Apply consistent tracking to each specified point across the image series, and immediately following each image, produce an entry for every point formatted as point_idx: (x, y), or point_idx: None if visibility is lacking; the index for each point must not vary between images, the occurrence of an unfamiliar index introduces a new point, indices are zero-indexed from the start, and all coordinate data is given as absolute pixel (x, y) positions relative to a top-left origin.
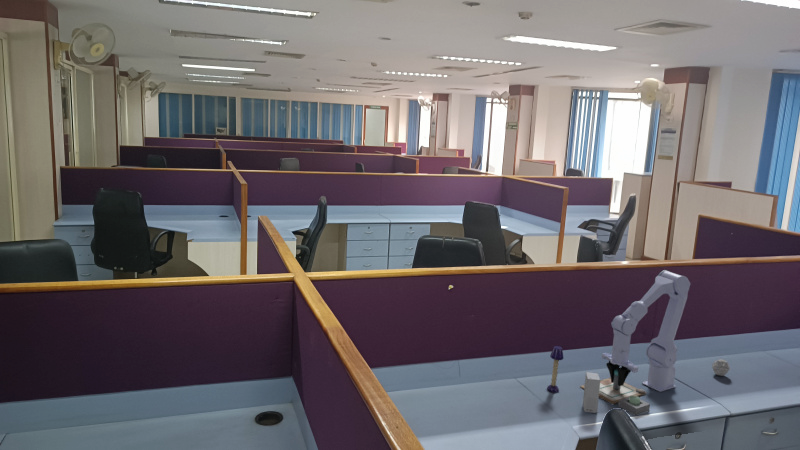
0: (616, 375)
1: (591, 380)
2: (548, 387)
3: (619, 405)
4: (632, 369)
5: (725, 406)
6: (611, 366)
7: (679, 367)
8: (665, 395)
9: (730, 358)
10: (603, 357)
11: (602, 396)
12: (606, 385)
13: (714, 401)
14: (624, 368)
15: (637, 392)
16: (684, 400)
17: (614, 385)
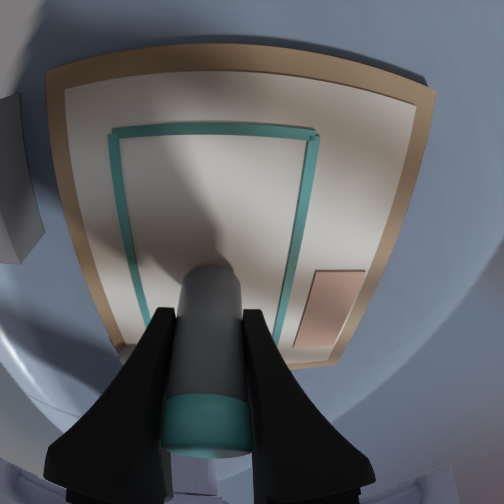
0: (192, 392)
1: None
2: None
3: (8, 97)
4: (1, 484)
5: (44, 404)
6: (274, 489)
7: (242, 456)
8: (104, 386)
9: (223, 474)
10: (436, 486)
11: (174, 62)
12: (304, 275)
13: (66, 411)
14: (95, 498)
15: (132, 343)
16: (67, 388)
17: (210, 291)
